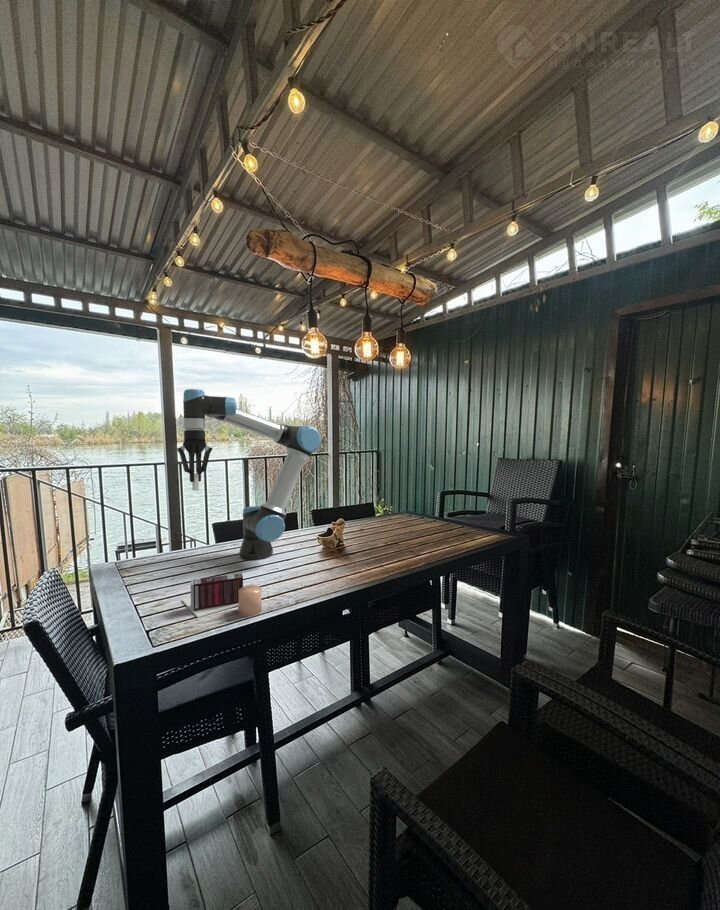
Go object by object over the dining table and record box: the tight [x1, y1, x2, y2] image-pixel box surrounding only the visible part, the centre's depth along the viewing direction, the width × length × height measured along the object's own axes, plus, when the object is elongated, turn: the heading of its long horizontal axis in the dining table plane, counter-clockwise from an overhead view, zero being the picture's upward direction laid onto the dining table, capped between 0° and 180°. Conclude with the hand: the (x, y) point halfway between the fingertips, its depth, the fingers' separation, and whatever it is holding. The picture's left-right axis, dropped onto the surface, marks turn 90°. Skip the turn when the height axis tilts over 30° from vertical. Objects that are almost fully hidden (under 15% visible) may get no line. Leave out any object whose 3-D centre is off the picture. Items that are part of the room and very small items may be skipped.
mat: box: [181, 596, 238, 619], centre depth 124 cm, size 17×16×1 cm
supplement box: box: [190, 573, 244, 612], centre depth 120 cm, size 9×5×16 cm
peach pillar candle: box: [237, 584, 262, 617], centre depth 117 cm, size 7×7×7 cm
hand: (195, 490), depth 144 cm, fingers closed
